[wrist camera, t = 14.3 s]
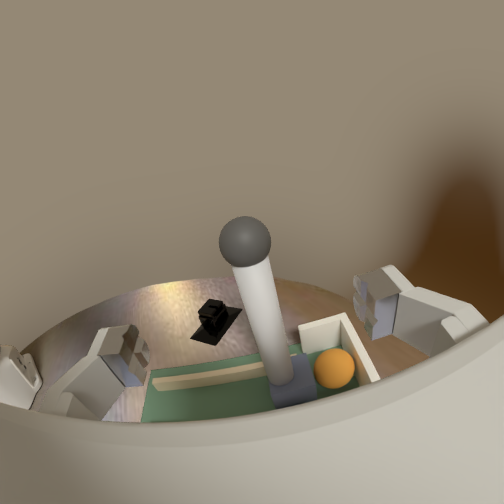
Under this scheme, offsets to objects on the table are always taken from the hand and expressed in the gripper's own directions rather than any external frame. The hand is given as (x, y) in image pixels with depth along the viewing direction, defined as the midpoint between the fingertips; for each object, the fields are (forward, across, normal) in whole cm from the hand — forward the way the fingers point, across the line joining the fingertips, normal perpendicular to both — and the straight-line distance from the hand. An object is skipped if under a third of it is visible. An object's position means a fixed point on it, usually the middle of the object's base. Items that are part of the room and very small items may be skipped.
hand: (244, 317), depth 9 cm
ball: (+12, -7, +21) cm, 25 cm away
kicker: (+12, -1, +23) cm, 26 cm away
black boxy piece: (+29, +9, +25) cm, 39 cm away
